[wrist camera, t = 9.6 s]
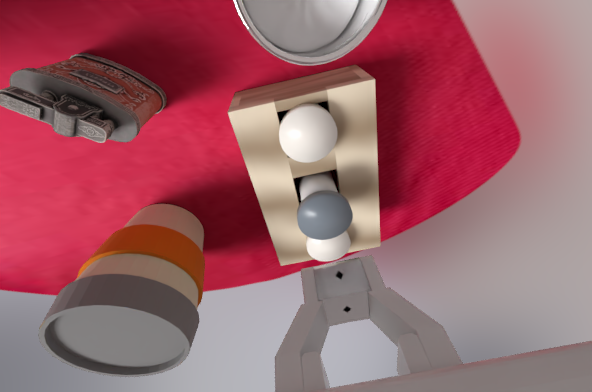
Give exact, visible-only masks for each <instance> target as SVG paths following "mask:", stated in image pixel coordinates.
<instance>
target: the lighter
mask: <svg viewBox="0 0 592 392" xmlns="http://www.w3.org/2000/svg"><path fill="white" fill-rule="evenodd" d="M166 101H167V98H166V94H165V93H164V91H163V90H162V89H161V88H160V87H159V86H157V85H156V84H154V83H153V82H151V81H150V80H148V79H147V78H145V77H144V76H142V75H140V74H138V73H136V72H135V71H133V70H131V69H129V68H127V67H125V66H123V65H120V64H118V63H115V62H113V61H110V60H108V59H105V58H101V57H98V56H94V55H91V54H87V53H80V54H76V55H73V56H71V58H70V59H68V60H65V61H62V62H58V63H55V64H51V65H48V66H44V67H41V68H37V69H35V68H25V69H22V70H18V71H16V72H14V73H13V74H12V75H11V77H10V87H8V88H5V89H2V90H0V105H1V106H3V107H5V108H8V109H10V110H13V111H16V112H18V113H21V114H24V115H26V116H29V117H32V118H34V119H37V120H40V121H42V122H45V123H48V124H50V125H52V127H53V128H54V131H55V132H56V133H58V134H61V135H64V136H68V137H75V136H77V137H81V136H82V137H85V138H88V139H90V140H93V141H96V142H99V143H103V142H105V141H106V140H107V139H110V140H115V141H119V142H128V141H131V140H132V139H133V138H135V137H136V136H137V135H138V133H139V131H140V128H141V127H142V126H143V125H144V124H145V123H146V122H147V121H148V120H149V119H150V118H151V117H152V116H153V115H154V114H157V113H159V112H160V111H161V110H162V109H163V108H164V107H165V105H166Z"/></svg>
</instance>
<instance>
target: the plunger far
mask: <svg viewBox="0 0 592 392" xmlns="http://www.w3.org/2000/svg"><path fill="white" fill-rule="evenodd" d="M350 245H351V241H350V238H349V235H348V232H347V231H345V232H344V233H342V234H341V235H339V236H337V237H335V238H332V239H327V240H317V239H312V238H310V237H308V236H307V238H306V246H307V251H308V253H309V255H310V256H311V257H312V258H314V259H316V260H319V261H332V260H336V259H338V258H340V257H342V256H344V255H345V254H346V253H347V252H348V250H349V248H350Z"/></svg>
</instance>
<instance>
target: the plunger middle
mask: <svg viewBox="0 0 592 392" xmlns="http://www.w3.org/2000/svg"><path fill="white" fill-rule="evenodd" d="M298 183H299V189H300V195H301V203H300V204H299V206H298V209H297V221H298V226H299V228H300V230H301V231H302V233H303V234H305V235H306V236H308V237H310V238H312V239H317V240H327V239H332V238H335V237H337V236H339V235H341V234H342V233H344V232H345V231H346V230H347V229H348V228H349V226H350V224H351V222H352V219H353V213H352V210H351V207H350V204H349V202H348V200H347V199H346V198H345V197H344V196H343V195H342V194H340V193H338V191H337V188H336V186H335V183H334V180H333V177H332V174H331V172H330V171H325V172H320V173H315V174H311V175H306V176H301V177H298Z"/></svg>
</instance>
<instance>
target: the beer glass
mask: <svg viewBox="0 0 592 392" xmlns="http://www.w3.org/2000/svg"><path fill="white" fill-rule="evenodd" d="M233 2H234V5H235V8H236V10H237V13H238V15H239V17H240V19H241V21H242V22H243V24H244V26H245V27H246V29H247V30H248V32H249V33H250V34H251V36H252V37H253V38H254V39H255V40H256V41H257V42H258V44H260V45H261V46H262V47H263V48H264V49H265V50H266V51H268V52H269V53H271V54H272V55H274V56H276V57H277V58H279V59H281V60H284V61H286V62H289V63H293V64H298V65H320V64H325V63H328V62H331V61H334V60H336V59H339V58H341V57H342V56H344V55H346V54H347V53H349V52H350V51H352V50H353V49H354V48H355V47H357V46H358V45H359V44H360V43H361V42H362V41H363V40H364V39H365V38H366V37H367V35H368V34H369V33H370V32H371V30H372V29H373V28H374V26H375V25H376V23H377V21H378V20H379V18H380V16H381V14H382V12H383V10H384V8H385V5H386V3H387V0H233Z"/></svg>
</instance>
